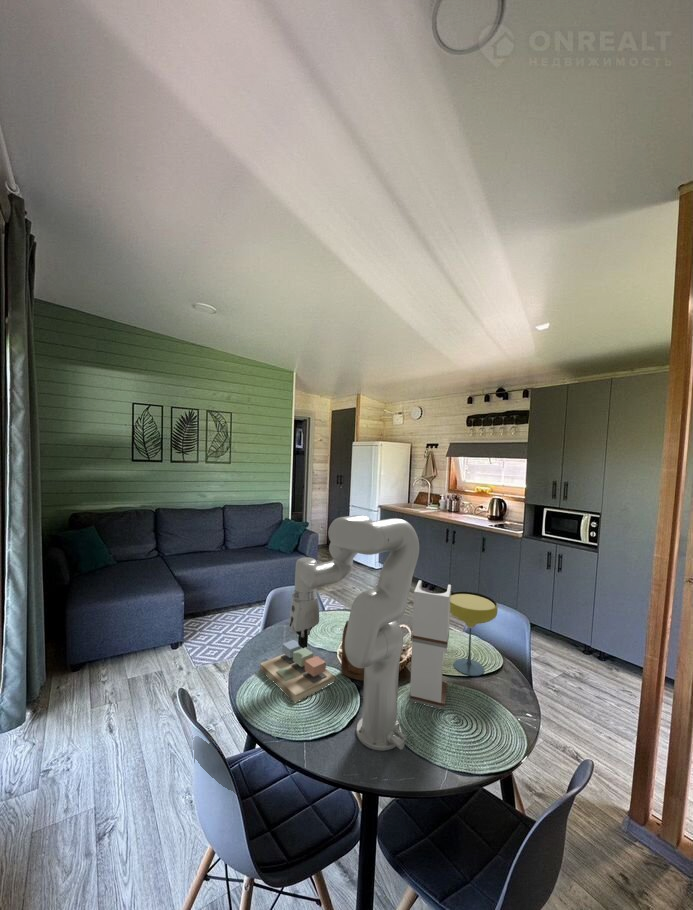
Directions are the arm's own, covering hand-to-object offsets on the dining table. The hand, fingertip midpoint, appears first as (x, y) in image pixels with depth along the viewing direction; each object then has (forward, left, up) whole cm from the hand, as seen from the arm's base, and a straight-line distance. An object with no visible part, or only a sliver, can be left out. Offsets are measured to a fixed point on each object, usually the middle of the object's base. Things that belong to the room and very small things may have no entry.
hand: (302, 645), depth 130 cm
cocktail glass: (-35, -51, -10) cm, 62 cm away
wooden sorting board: (0, +2, -10) cm, 10 cm away
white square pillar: (-35, -26, -10) cm, 45 cm away
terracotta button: (-7, 0, -5) cm, 9 cm away
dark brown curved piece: (-12, -15, -10) cm, 22 cm away
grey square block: (+7, 0, -5) cm, 8 cm away
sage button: (0, 0, -5) cm, 5 cm away
